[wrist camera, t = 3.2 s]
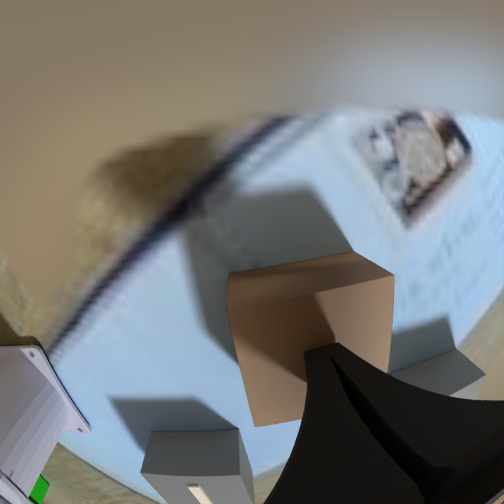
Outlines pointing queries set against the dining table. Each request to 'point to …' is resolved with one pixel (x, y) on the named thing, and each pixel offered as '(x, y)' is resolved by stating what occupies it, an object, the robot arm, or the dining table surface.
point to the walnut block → (305, 325)
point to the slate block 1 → (199, 467)
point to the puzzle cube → (38, 491)
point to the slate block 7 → (445, 375)
